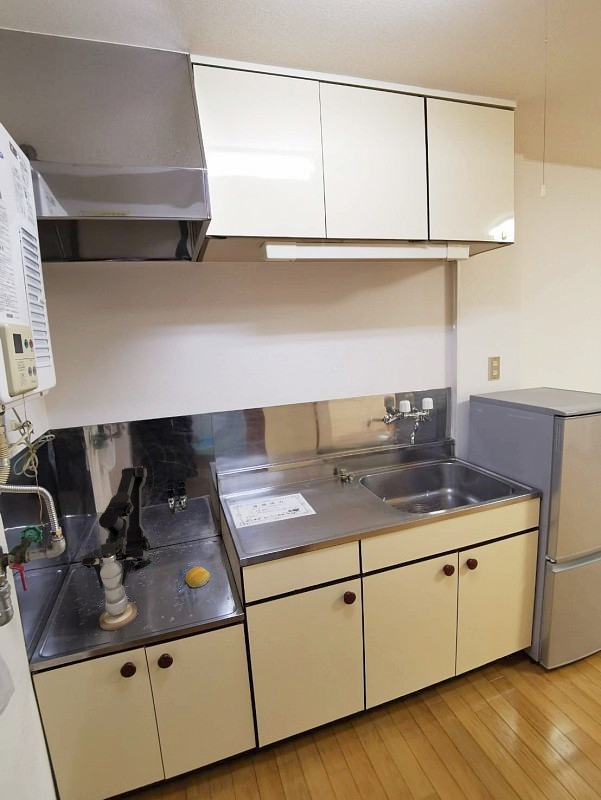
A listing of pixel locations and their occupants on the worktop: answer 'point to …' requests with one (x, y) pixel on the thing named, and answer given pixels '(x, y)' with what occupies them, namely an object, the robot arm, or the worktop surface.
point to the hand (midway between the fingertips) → (112, 587)
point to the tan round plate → (118, 618)
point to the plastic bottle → (113, 585)
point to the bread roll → (197, 577)
